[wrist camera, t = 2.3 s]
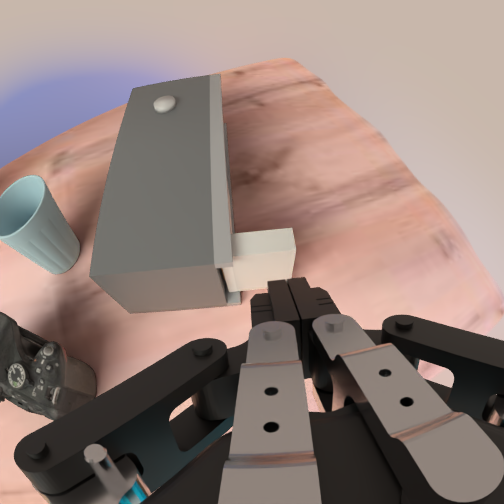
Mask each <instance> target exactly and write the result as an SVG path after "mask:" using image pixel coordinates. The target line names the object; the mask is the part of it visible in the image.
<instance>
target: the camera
mask: <svg viewBox="0 0 504 504" xmlns="http://www.w3.org/2000/svg"><path fill="white" fill-rule="evenodd" d="M95 395H96V378H95V373H94V371H93V369H92V368H91V367H90V366H88V365H87V364H86V363H84V362H82V361H80V360H78V359H75V358H72V357H69V356H67V354H66V351H65V349H64V348H63V347H62V345H60V344H59V343H57V342H48V341H47V340H45V339H43V338H41V337H39V336H38V335H36V334H34V333H32V332H30V331H28V330H26V329H24V328H22V327H20V326H18V325H17V322H16V321H15V320H14V319H12V318H11V317H9V316H7V315H6V314H4V313H2V312H0V402H1V401H5V398H6V399H7V400H9V401H10V402H12V403H14V404H15V405H17V406H18V407H20V408H22V409H24V410H26V411H28V412H31V413H35V414H40V415H44V416H45V417H47V418H49V419H51V420H54V421H55V420H57V419H59V418H60V417H62V416H64V415H66V414H68V413H70V412H71V411H73V410H75V409H77V408H79V407H80V406H82V405H84V404H86V403H87V402H89V401H91V400H93V399H94V398H95Z"/></svg>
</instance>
